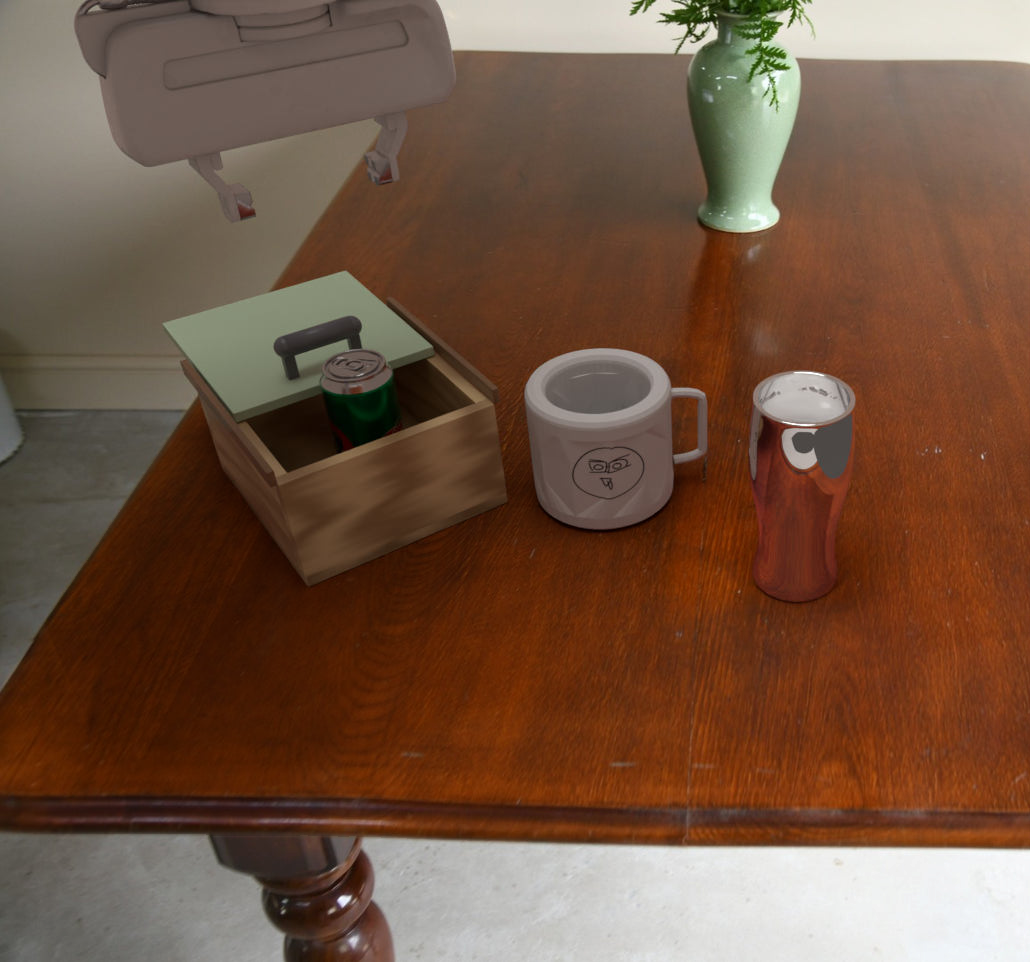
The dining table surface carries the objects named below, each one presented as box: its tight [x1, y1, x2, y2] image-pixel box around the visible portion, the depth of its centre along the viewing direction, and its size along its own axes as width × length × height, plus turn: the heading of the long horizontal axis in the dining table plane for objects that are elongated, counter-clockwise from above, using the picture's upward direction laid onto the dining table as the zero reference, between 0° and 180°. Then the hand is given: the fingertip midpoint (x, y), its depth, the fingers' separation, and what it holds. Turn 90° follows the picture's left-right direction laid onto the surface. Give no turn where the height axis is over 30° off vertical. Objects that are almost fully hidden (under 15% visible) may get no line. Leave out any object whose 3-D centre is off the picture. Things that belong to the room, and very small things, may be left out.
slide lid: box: [161, 270, 435, 422], centre depth 88 cm, size 15×17×4 cm
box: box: [179, 296, 509, 588], centre depth 86 cm, size 17×18×10 cm
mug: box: [523, 347, 708, 531], centre depth 86 cm, size 14×11×10 cm
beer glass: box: [748, 370, 857, 603], centre depth 76 cm, size 7×7×15 cm
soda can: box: [319, 349, 405, 454], centre depth 82 cm, size 5×5×12 cm
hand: (314, 198), depth 71 cm, fingers open, 8 cm apart
